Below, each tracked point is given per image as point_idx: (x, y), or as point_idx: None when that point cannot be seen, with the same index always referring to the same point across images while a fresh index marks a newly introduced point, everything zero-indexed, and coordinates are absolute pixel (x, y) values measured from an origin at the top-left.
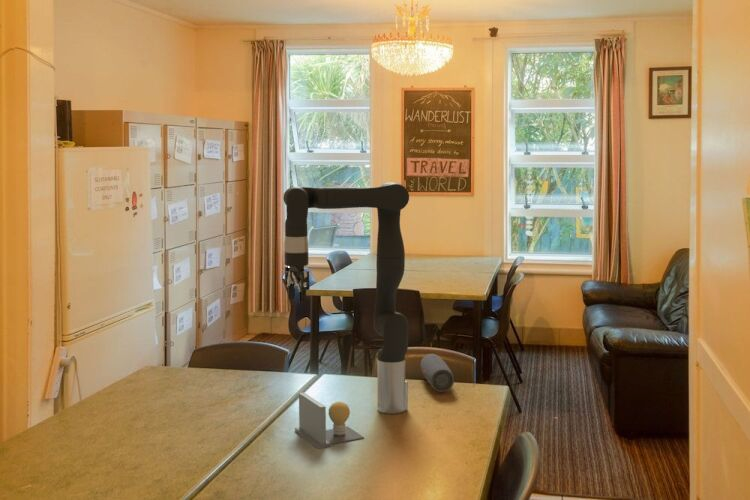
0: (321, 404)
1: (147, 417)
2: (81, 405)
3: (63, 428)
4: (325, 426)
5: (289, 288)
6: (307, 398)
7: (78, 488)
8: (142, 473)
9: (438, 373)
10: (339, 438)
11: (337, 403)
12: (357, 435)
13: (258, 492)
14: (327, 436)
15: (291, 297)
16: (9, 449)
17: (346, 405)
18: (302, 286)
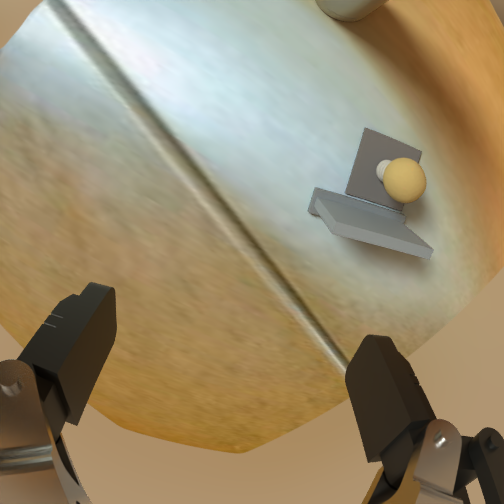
0: (421, 247)
1: None
2: None
3: (100, 396)
4: (414, 233)
5: (75, 417)
6: (376, 244)
7: (271, 434)
8: (283, 404)
9: None
10: None
11: (415, 191)
12: (409, 152)
13: (414, 349)
14: (376, 192)
15: (110, 328)
16: (140, 432)
17: (423, 174)
18: (458, 496)
